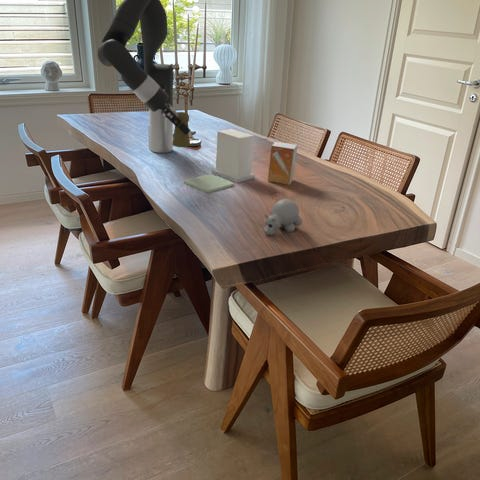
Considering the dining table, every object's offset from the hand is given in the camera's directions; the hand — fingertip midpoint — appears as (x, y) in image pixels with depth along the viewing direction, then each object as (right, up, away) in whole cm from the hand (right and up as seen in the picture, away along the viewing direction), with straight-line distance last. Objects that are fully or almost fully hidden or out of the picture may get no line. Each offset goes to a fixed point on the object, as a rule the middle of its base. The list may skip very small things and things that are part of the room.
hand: (186, 130), depth 157 cm
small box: (+33, -17, +6) cm, 37 cm away
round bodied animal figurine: (+29, -35, -32) cm, 56 cm away
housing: (+16, -14, +8) cm, 23 cm away
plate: (+8, -19, -2) cm, 20 cm away
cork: (-2, -5, +2) cm, 6 cm away
